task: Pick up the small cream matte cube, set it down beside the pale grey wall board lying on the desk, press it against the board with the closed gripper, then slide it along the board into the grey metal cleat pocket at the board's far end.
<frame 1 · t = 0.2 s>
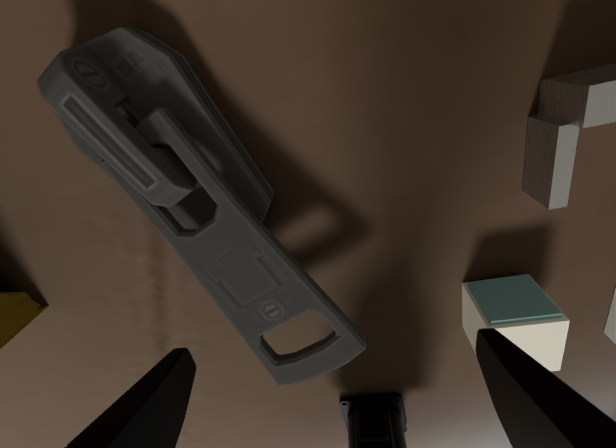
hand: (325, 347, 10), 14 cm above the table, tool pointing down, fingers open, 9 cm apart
cream matte cube: (493, 301, 26), on the table
cleat: (604, 82, 18), on the table
zipper pull: (234, 204, 24), on the table
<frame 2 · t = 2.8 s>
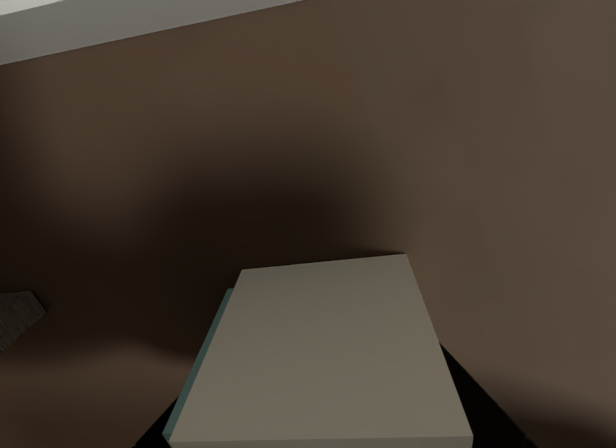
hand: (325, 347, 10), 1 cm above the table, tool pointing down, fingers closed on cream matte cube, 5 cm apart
cream matte cube: (331, 322, 11), on the table, touching gripper
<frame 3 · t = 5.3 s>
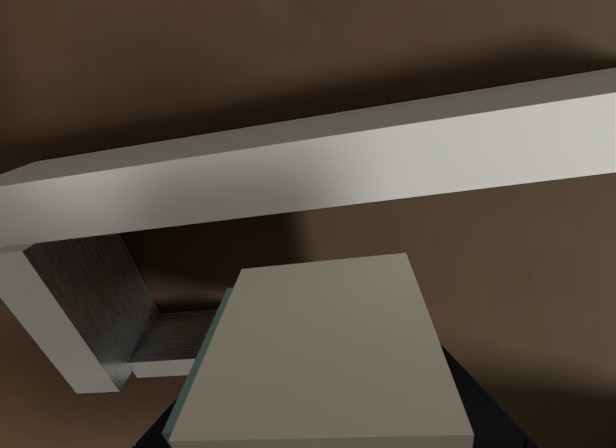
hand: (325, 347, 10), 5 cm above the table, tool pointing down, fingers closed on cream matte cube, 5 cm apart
cream matte cube: (331, 322, 11), point 4 cm above the table, touching gripper
wall board: (306, 145, 12), on the table
cleat: (117, 268, 15), on the table
when the fingers open (2 cm above the table, at t = 6.2 s): cream matte cube drops 1 cm, on the table.
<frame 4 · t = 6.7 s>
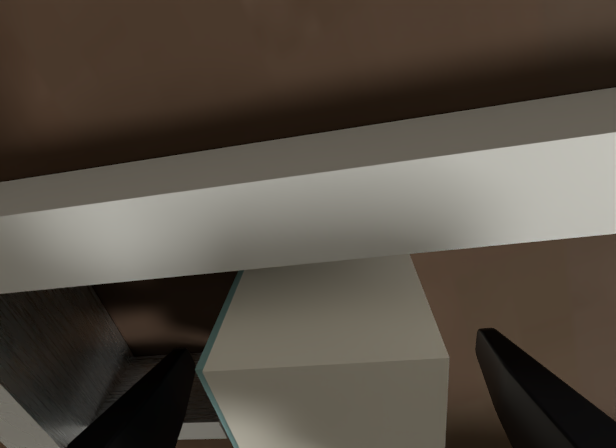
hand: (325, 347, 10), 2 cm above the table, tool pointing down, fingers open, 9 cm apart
cream matte cube: (334, 294, 12), on the table
wall board: (302, 169, 9), on the table
cleat: (81, 307, 13), on the table
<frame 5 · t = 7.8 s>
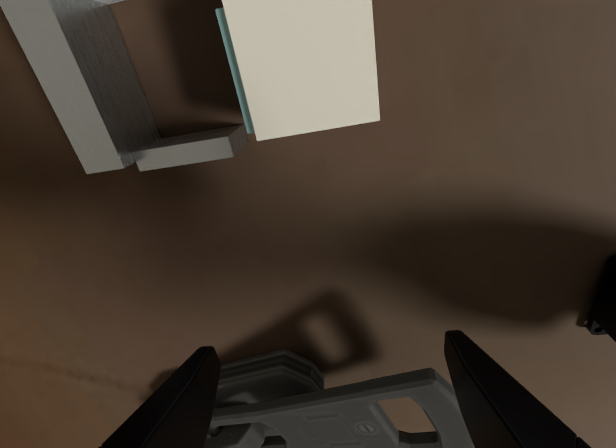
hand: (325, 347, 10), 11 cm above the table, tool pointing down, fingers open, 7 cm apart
cream matte cube: (313, 60, 16), on the table
cleat: (122, 85, 17), on the table
zipper pull: (295, 373, 28), on the table
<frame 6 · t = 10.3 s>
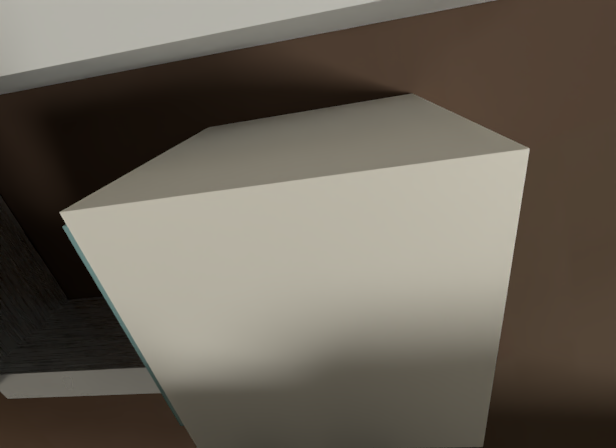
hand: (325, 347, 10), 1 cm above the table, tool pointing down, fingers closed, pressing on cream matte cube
cream matte cube: (320, 203, 9), on the table, touching gripper
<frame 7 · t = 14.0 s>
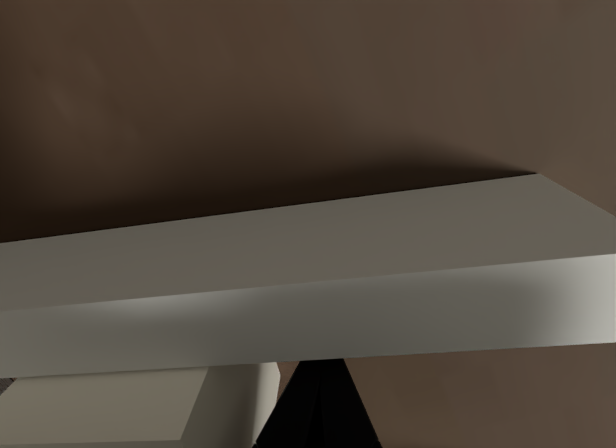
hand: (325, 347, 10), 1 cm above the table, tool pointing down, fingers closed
cream matte cube: (199, 333, 12), on the table, touching gripper
wall board: (153, 253, 10), on the table
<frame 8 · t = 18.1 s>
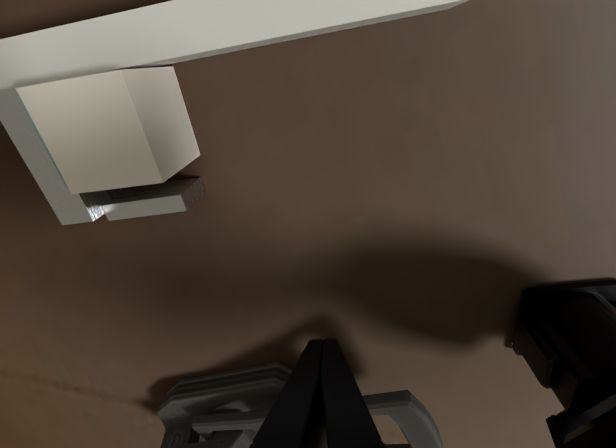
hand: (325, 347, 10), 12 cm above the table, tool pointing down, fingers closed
cream matte cube: (149, 119, 19), on the table
wall board: (226, 30, 16), on the table
cleat: (95, 144, 20), on the table
zipper pull: (285, 383, 30), on the table
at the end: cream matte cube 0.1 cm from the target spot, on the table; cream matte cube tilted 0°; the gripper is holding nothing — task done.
